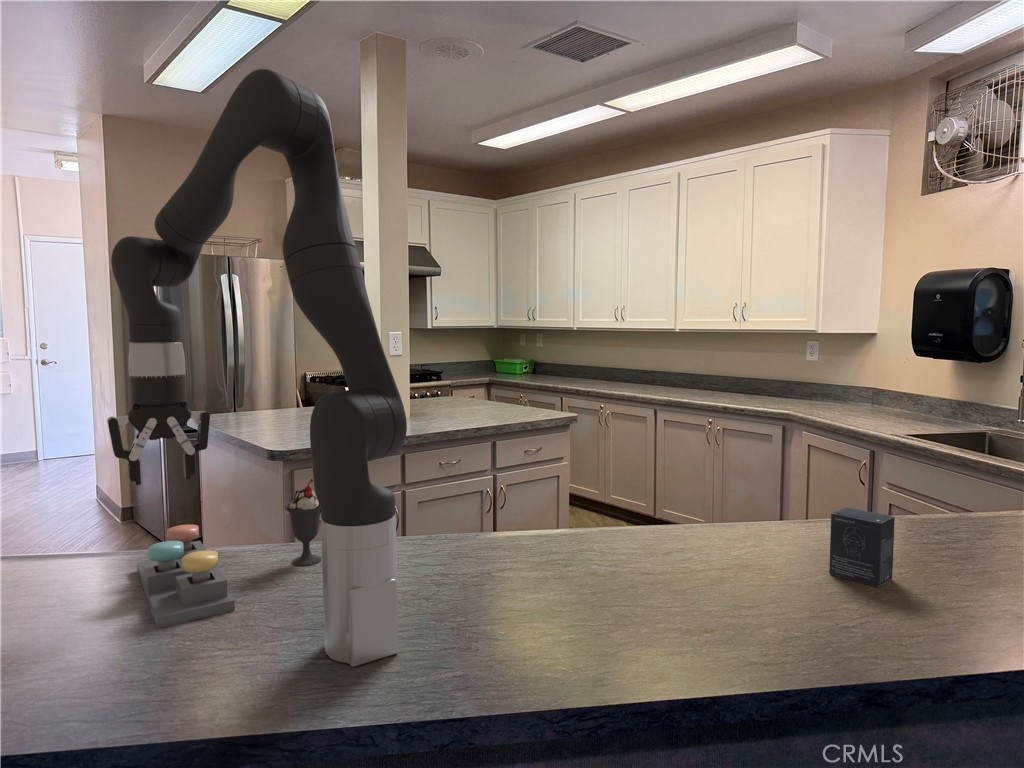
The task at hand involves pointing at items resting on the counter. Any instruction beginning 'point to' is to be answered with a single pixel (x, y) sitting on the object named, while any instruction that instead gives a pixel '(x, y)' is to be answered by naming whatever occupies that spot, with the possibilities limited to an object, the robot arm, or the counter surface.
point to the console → (183, 592)
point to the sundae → (305, 523)
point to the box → (862, 546)
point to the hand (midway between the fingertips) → (163, 480)
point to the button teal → (166, 554)
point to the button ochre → (200, 564)
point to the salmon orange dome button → (183, 535)
